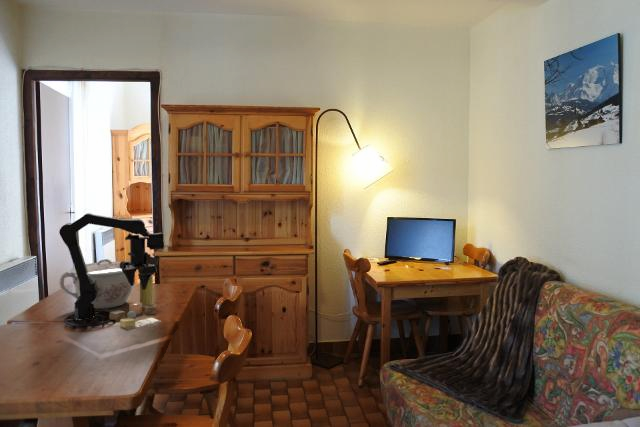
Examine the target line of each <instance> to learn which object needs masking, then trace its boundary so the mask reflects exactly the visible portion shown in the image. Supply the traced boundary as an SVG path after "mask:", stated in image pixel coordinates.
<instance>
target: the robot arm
mask: <svg viewBox="0 0 640 427" xmlns="http://www.w3.org/2000/svg"><path fill="white" fill-rule="evenodd" d="M88 225H96V226H102V227H107V228H113V229H120V230H123V231H125V232H128V235H127V236H126V237H125V240H126V241H129V246H130V247H129V248H130V249H129V250H130V251H129V252H128V254H127V255H128V256H130V257H129V260H122V261H120V262H121V263H120V268H121V270H122V271H123V273H124V274H125V276H126V278H127V280H128V282H129V284H130V285H131V286H133V285H134V286H135V278H136V277H135V275H136V273H137V272H138V274H137V275H138V279H139V283H140V282H141V286H142V289H143V290H145V289H146V287H147V284H148V281H149V278H150V276H151V275H152V276H154V275H155V274H156V273H157V272H158V268H157V265H158V261H159V258H157V257H153V256H151V254H150V253H148V252H147V251H146V248H148V249H149V250H150V251H151V250H156V251H157V250H165V240H164V233H163V232H157V233H155V232H154V233H151V232H149V230H148V229H147V228H146V224H145V222H144V221H143V220H142V219H140V218H117V217H111V216H106V215H99V214H98V215H97V214H94V213H90V212H89V213H86V214H84V215H83V216H81V217H80V218H78V219H77V220H75V221H73V222H68V223H65V224H64V225H62V226H60V228H59V232H58V233H59V235H60V238H61V239H62V241H63V243H64V244H65V246H66V247H67V248H68V249H67V250H68V252H69V254H70V257H71V260H72V263H73V268H75V270H76V273H77V276H78V279H79V288H80V296H79V297H78V298H77V299H76V300H75V302H74V319H75V318H77V319H85V318H90V317H93V316H95V317H96V309H95V307H94V304H92V303H91V302H93V301H94V300H95V299H96V296H97V294H98V290H99V288H98V286H97V282H96V280H94V281H92V280H91V278H90V276H89V273H88V270H87V267H86V264H87V263H86V261H85V258H84V256H83V252H82V249H81V246H80V236H79V231H80V230H82V229H83V228H85V227H86V226H88ZM77 276H76V277H77ZM90 319H91V318H90Z"/></svg>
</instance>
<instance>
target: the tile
mask: <svg viewBox="0 0 640 427" xmlns="http://www.w3.org/2000/svg"><path fill="white" fill-rule="evenodd" d="M135 321H136V319H135V318H127V317H125V318H124V319H121V320H119V325H120V326H121V328H122V329H126V328H130V327H134V326H135ZM120 326H119V327H120ZM126 330H127V329H126Z"/></svg>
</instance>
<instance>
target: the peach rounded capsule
mask: <svg viewBox="0 0 640 427" xmlns="http://www.w3.org/2000/svg"><path fill="white" fill-rule="evenodd" d="M130 311H134V312H135V313H136V316H137V315H141V314H143V307H142V303H140V301H139V302H132V303H129V304H128V312H130Z"/></svg>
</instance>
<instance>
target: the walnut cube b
mask: <svg viewBox="0 0 640 427" xmlns="http://www.w3.org/2000/svg"><path fill="white" fill-rule="evenodd" d="M156 308H157V307H156V306H155V304H154V305H147V306H144V307H143V313H144V315H145V316H146V315H155V314H157V310H156Z"/></svg>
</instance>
